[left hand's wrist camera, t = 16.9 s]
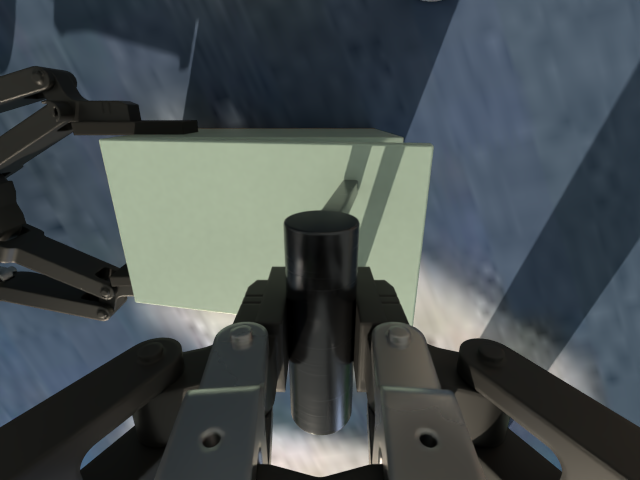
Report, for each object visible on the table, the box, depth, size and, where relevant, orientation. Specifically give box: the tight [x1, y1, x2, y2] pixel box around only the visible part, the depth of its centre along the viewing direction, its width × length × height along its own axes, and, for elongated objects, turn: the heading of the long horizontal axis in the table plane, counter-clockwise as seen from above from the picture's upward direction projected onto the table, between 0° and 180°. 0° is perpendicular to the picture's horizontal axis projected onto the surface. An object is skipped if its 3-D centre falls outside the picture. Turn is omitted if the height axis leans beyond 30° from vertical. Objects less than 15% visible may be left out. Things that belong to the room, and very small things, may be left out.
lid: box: [99, 138, 434, 435], centre depth 14 cm, size 16×10×9 cm, turn 90°
